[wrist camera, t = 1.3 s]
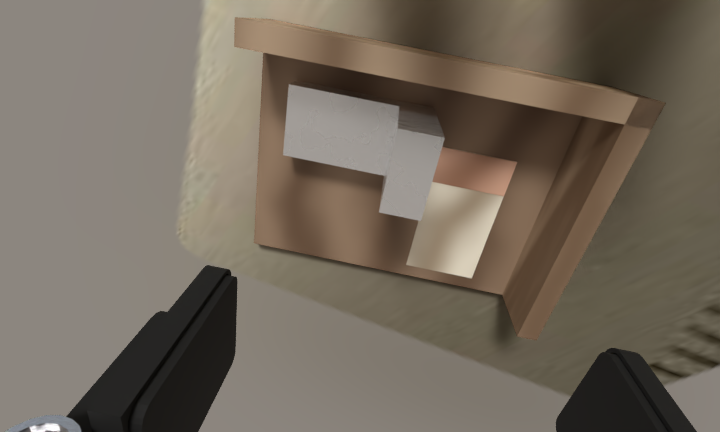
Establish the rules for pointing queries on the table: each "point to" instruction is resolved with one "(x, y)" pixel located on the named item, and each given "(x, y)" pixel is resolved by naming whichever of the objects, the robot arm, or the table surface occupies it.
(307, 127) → the bracket
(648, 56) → the table surface
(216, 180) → the table surface
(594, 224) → the tray
